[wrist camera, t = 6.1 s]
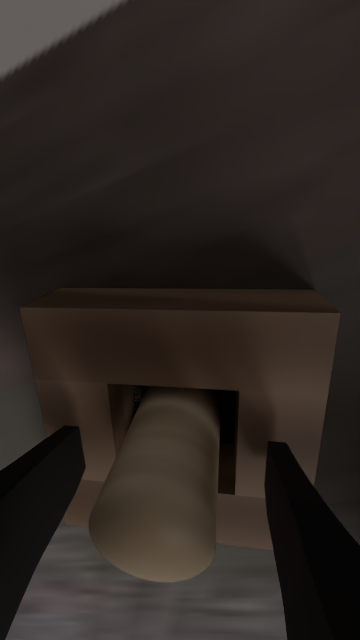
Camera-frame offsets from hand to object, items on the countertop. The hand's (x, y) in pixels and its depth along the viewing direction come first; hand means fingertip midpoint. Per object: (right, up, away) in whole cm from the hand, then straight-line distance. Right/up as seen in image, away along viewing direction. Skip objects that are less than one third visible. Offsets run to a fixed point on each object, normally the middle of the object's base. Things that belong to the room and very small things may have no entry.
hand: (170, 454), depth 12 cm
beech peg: (+1, +1, +3) cm, 4 cm away
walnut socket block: (+1, +1, +3) cm, 4 cm away
